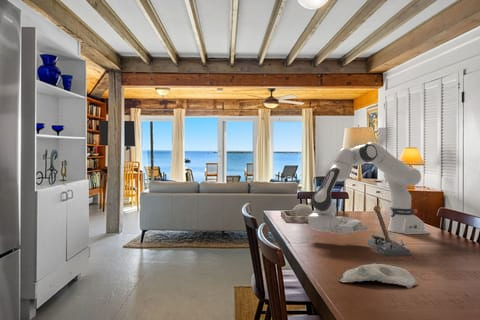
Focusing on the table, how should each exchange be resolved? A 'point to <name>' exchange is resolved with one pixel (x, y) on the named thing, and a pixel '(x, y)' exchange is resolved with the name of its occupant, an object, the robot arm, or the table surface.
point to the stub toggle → (403, 244)
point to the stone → (380, 275)
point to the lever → (382, 224)
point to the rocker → (377, 237)
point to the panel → (388, 247)
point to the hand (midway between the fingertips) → (366, 228)
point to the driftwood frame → (293, 217)
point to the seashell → (301, 210)
